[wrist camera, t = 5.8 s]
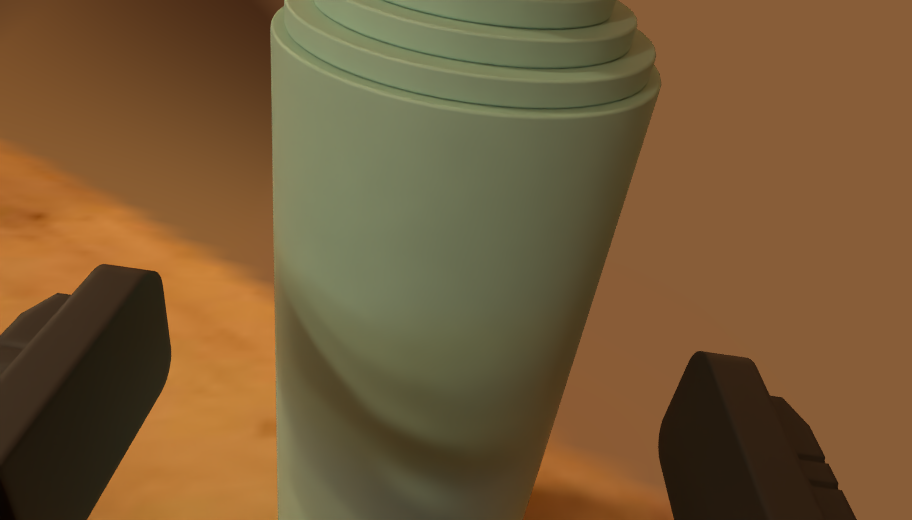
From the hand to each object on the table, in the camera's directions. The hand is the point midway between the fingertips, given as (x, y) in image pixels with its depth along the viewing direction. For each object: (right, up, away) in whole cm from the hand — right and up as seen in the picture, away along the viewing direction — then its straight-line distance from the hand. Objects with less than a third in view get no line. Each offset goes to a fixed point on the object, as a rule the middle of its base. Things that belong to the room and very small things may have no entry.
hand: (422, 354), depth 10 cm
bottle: (-1, -7, +8) cm, 10 cm away
